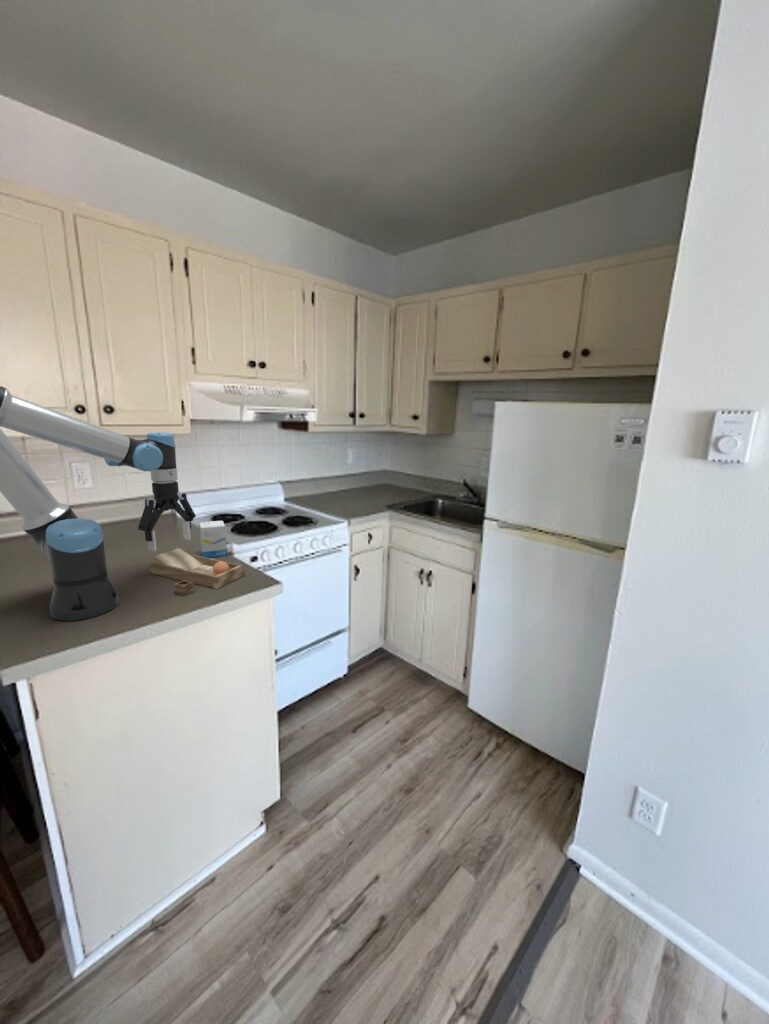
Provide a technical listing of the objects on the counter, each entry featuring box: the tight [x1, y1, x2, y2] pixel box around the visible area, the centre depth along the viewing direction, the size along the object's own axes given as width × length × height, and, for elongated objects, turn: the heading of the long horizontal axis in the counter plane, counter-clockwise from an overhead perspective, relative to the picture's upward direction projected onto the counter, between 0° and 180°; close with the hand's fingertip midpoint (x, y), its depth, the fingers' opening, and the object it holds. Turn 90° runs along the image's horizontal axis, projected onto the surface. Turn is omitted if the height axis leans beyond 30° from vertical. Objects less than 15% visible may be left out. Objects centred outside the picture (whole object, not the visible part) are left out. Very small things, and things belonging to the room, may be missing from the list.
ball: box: [213, 560, 230, 576], centre depth 135 cm, size 5×5×5 cm
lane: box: [149, 547, 245, 590], centre depth 139 cm, size 12×28×6 cm, turn 67°
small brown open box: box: [173, 580, 195, 597], centre depth 125 cm, size 4×4×3 cm
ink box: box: [198, 520, 228, 559], centre depth 158 cm, size 9×8×12 cm
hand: (170, 544), depth 142 cm, fingers open, 13 cm apart
